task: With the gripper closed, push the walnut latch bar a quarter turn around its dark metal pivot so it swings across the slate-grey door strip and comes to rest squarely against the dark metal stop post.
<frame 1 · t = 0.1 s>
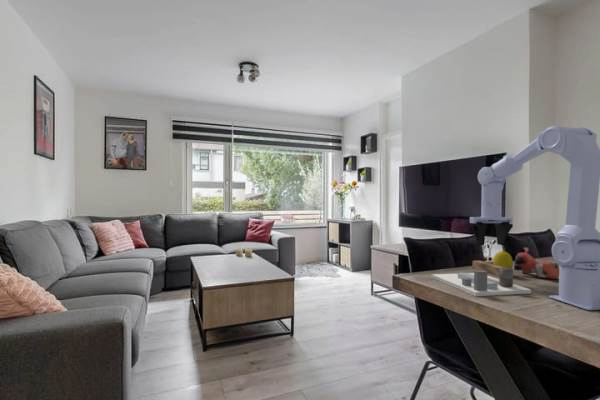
hand: (490, 245, 104), 10 cm above the table, fingers open, 7 cm apart
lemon: (502, 274, 106), on the table
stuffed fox: (539, 277, 104), on the table
latch frame: (505, 289, 88), on the table
latch bar: (492, 272, 93), point 4 cm above the table, hinge at 0.0°
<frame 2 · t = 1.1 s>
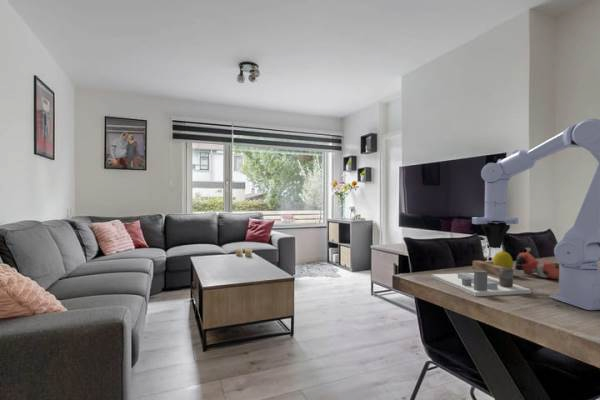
hand: (494, 247, 96), 10 cm above the table, fingers closed
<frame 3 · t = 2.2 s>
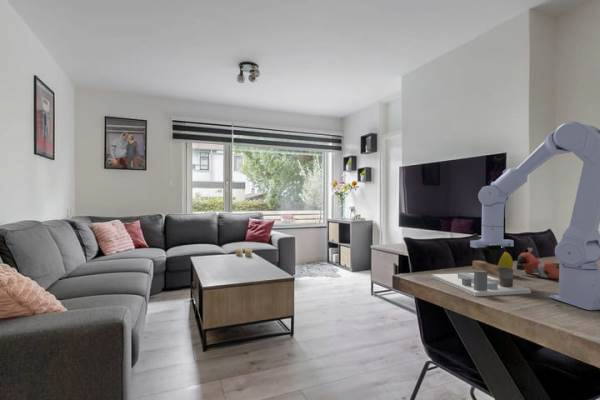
hand: (491, 270, 96), 3 cm above the table, fingers closed, pressing on latch bar
latch bar: (492, 272, 93), point 4 cm above the table, hinge at 0.0°, touching gripper
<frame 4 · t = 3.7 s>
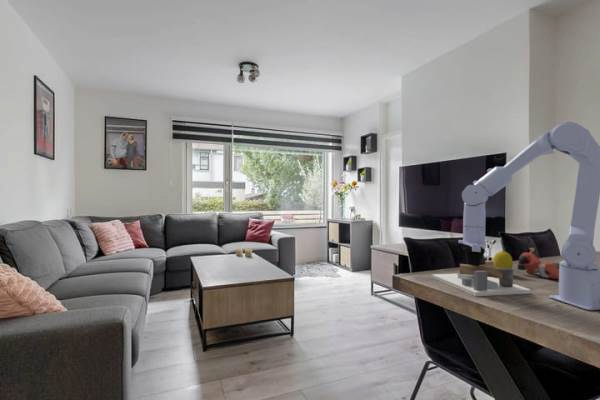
hand: (473, 272, 93), 3 cm above the table, fingers closed, pressing on latch bar
latch bar: (485, 274, 90), point 4 cm above the table, hinge at 53.1°, touching gripper
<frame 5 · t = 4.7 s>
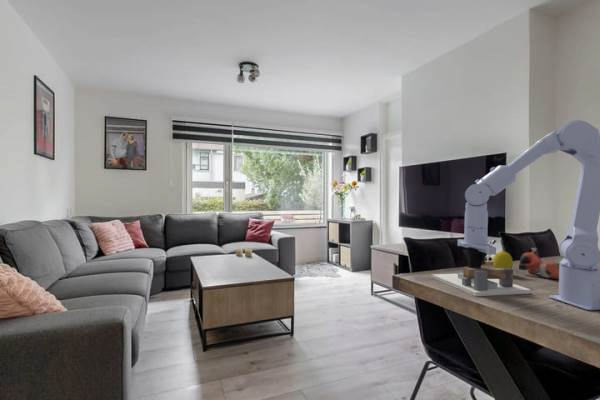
hand: (474, 275, 89), 4 cm above the table, fingers closed, pressing on latch bar
latch bar: (488, 276, 87), point 4 cm above the table, hinge at 82.2°, touching gripper
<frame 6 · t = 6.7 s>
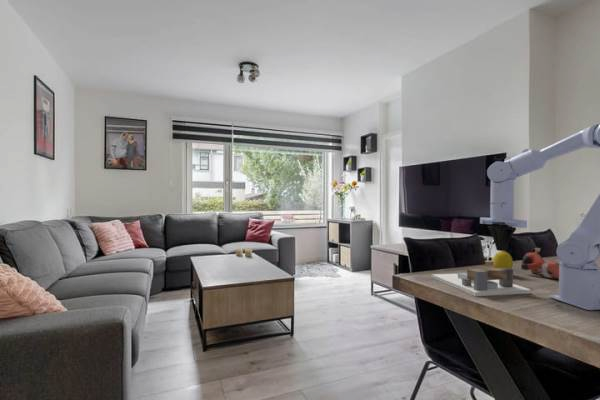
hand: (501, 250, 92), 10 cm above the table, fingers closed
latch bar: (491, 277, 87), point 4 cm above the table, hinge at 91.9°
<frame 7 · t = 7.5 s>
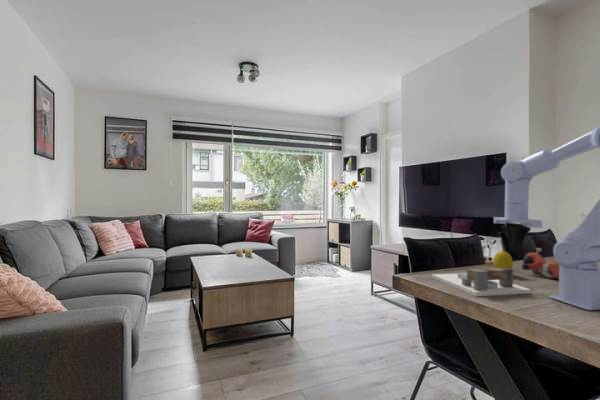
hand: (515, 250, 92), 10 cm above the table, fingers closed
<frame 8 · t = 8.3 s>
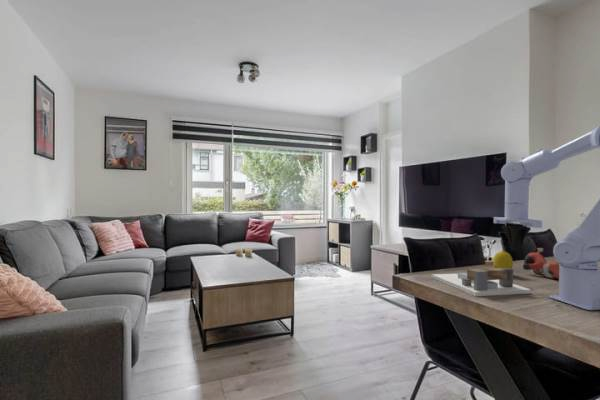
hand: (515, 250, 92), 10 cm above the table, fingers closed
at the end: latch bar at +92° (first picture: +0°); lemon moved 0.2 cm from its start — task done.
